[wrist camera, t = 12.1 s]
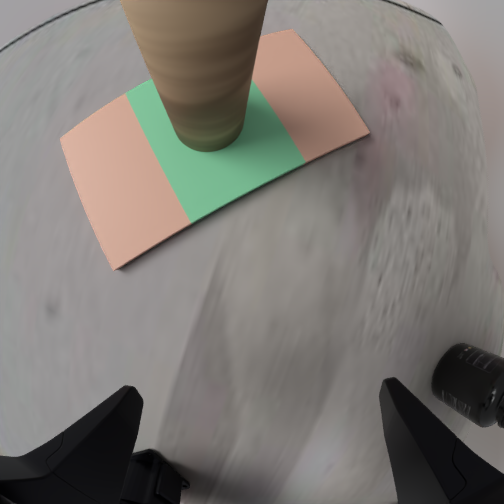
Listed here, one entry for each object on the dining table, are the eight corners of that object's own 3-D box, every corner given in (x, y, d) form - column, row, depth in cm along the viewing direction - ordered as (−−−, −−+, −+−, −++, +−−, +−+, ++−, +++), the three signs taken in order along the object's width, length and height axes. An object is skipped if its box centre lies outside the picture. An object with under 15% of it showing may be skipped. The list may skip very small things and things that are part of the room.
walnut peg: (215, 165, 18) (199, 0, 4) (160, 129, 17) (80, -20, 3) (257, 114, 18) (308, -51, 4) (203, 82, 17) (190, -77, 3)
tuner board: (117, 269, 18) (113, 270, 17) (64, 141, 17) (59, 138, 16) (365, 135, 19) (370, 132, 19) (290, 33, 18) (292, 28, 18)
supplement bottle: (460, 386, 22) (524, 423, 10) (423, 403, 21) (491, 456, 10) (473, 335, 22) (548, 363, 10) (436, 348, 21) (522, 390, 9)
